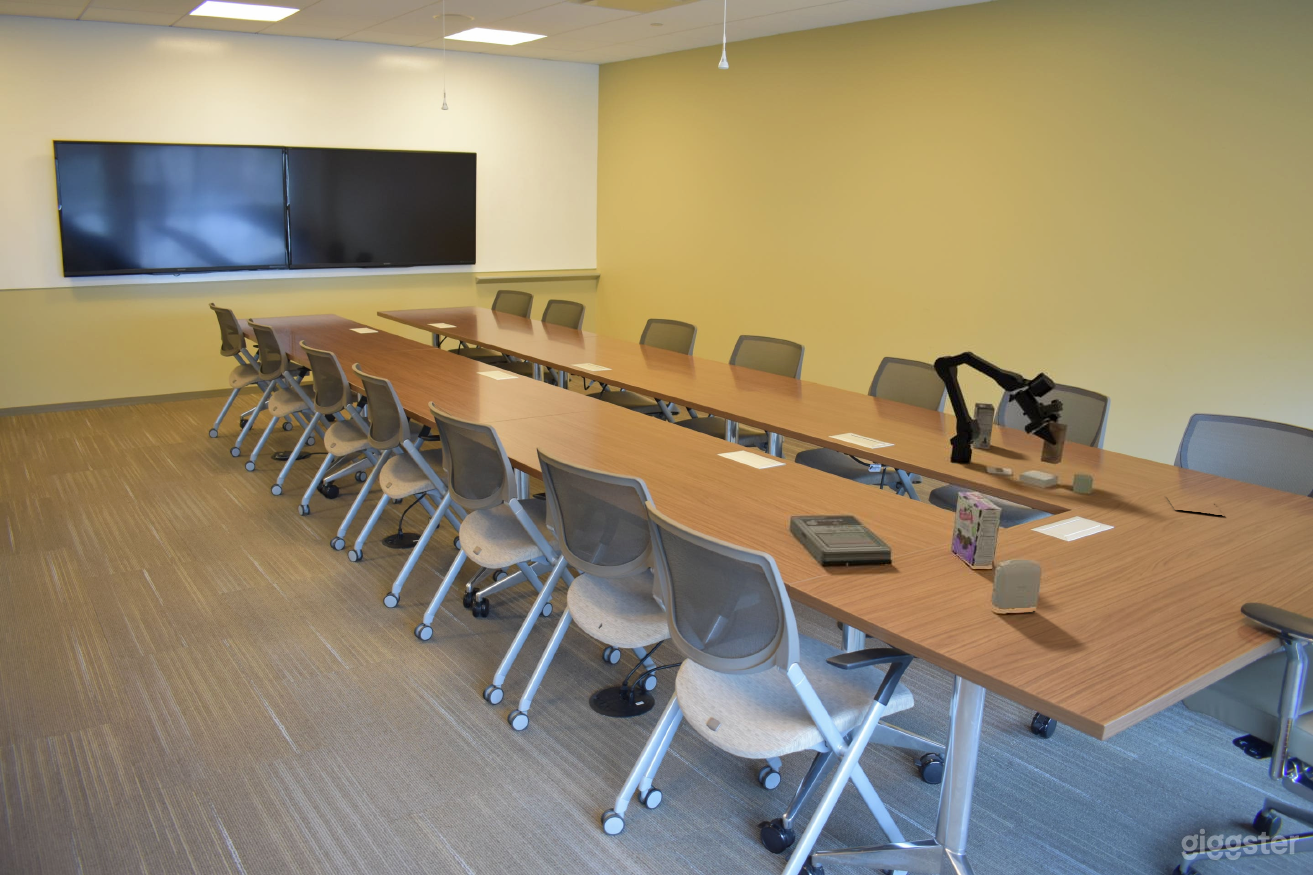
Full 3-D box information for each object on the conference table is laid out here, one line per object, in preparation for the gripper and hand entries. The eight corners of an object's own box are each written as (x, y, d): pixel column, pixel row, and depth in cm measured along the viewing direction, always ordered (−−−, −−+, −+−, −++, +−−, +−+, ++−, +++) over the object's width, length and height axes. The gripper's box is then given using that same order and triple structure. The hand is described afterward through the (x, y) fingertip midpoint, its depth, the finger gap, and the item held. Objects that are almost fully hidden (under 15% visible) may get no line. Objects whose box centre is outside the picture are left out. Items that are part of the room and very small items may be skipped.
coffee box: (969, 442, 363) (974, 402, 359) (986, 443, 362) (992, 403, 358) (972, 447, 354) (978, 407, 350) (990, 449, 353) (995, 408, 349)
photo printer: (996, 616, 205) (1004, 564, 202) (986, 607, 209) (994, 556, 206) (1038, 614, 206) (1046, 562, 203) (1028, 606, 210) (1035, 555, 207)
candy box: (949, 550, 244) (957, 490, 240) (971, 550, 245) (979, 491, 241) (971, 570, 231) (979, 507, 227) (994, 570, 231) (1002, 508, 227)
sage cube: (1074, 492, 301) (1076, 477, 300) (1072, 488, 306) (1074, 473, 305) (1090, 494, 300) (1093, 479, 299) (1088, 489, 305) (1090, 475, 304)
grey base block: (1018, 482, 311) (1019, 473, 311) (1032, 478, 317) (1033, 469, 316) (1043, 489, 305) (1044, 480, 304) (1057, 484, 310) (1058, 476, 310)
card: (987, 472, 320) (987, 470, 320) (986, 468, 326) (986, 465, 326) (1011, 475, 318) (1012, 473, 318) (1010, 470, 324) (1010, 468, 323)
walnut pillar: (1040, 461, 312) (1046, 423, 309) (1046, 458, 315) (1052, 421, 312) (1055, 464, 309) (1062, 426, 305) (1060, 462, 312) (1067, 424, 309)
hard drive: (822, 568, 229) (823, 551, 228) (788, 531, 255) (789, 516, 253) (891, 566, 232) (893, 549, 231) (850, 529, 258) (852, 514, 257)
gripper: (1039, 395, 302) (1068, 434, 298) (1059, 388, 315) (1087, 426, 311) (1012, 414, 309) (1040, 452, 305) (1032, 406, 322) (1060, 443, 318)
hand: (1058, 443), depth 309 cm, fingers closed on walnut pillar, 5 cm apart
